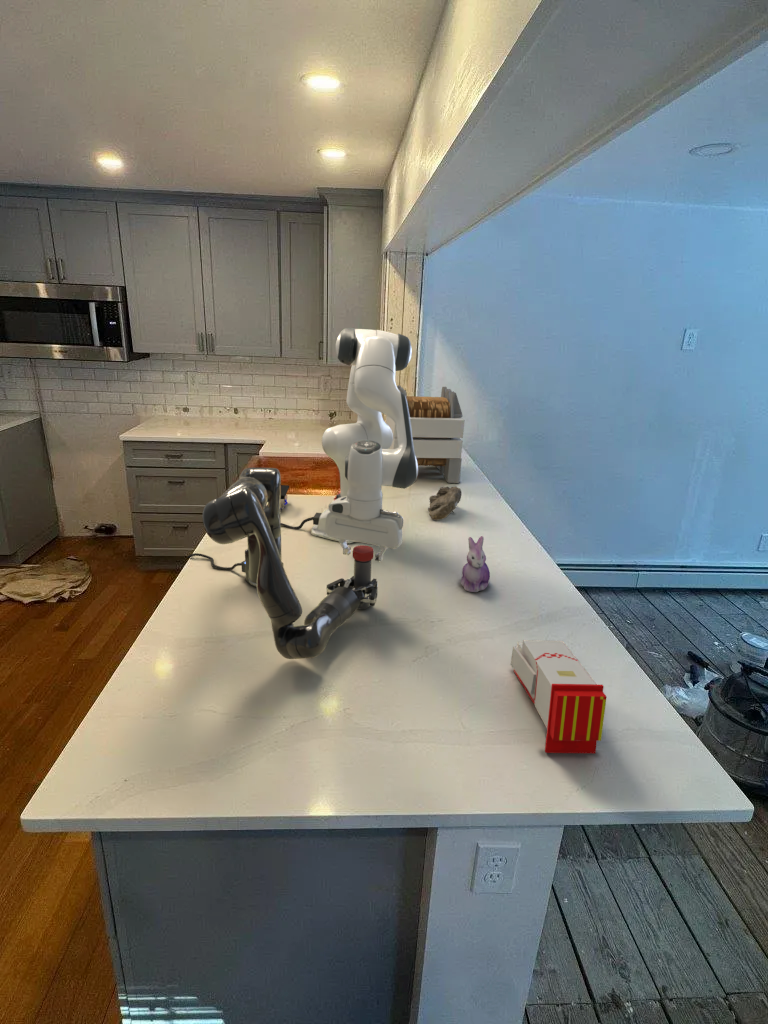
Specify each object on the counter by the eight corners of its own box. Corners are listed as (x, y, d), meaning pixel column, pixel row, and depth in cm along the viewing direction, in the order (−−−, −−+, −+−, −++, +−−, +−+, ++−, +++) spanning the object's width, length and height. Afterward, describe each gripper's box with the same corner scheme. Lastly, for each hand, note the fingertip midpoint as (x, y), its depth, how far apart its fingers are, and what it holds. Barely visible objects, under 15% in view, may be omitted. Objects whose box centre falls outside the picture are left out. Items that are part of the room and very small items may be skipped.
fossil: (424, 492, 232) (454, 472, 227) (437, 509, 235) (468, 490, 230) (422, 516, 212) (456, 495, 207) (437, 534, 215) (470, 514, 210)
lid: (348, 557, 146) (348, 549, 145) (362, 551, 150) (362, 543, 149) (363, 563, 143) (364, 555, 142) (377, 557, 147) (378, 549, 146)
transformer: (382, 463, 289) (386, 382, 275) (445, 464, 293) (451, 384, 279) (390, 482, 257) (394, 392, 243) (460, 483, 261) (468, 394, 247)
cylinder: (370, 601, 153) (372, 548, 148) (369, 609, 149) (371, 556, 144) (353, 600, 153) (354, 548, 148) (352, 609, 149) (354, 555, 144)
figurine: (471, 596, 158) (477, 546, 153) (451, 580, 166) (455, 533, 161) (498, 590, 162) (504, 541, 157) (477, 575, 171) (482, 529, 166)
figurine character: (285, 517, 214) (290, 500, 227) (284, 499, 210) (289, 483, 224) (267, 517, 213) (273, 500, 227) (266, 498, 210) (272, 482, 223)
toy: (559, 623, 127) (616, 692, 98) (553, 678, 130) (607, 761, 101) (505, 622, 127) (547, 691, 98) (501, 677, 130) (540, 760, 100)
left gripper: (363, 601, 133) (391, 572, 148) (310, 587, 138) (342, 561, 153) (362, 628, 135) (390, 598, 150) (310, 614, 140) (342, 586, 155)
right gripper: (407, 509, 141) (404, 560, 146) (333, 497, 148) (332, 545, 152) (399, 517, 135) (396, 569, 140) (322, 504, 142) (322, 554, 147)
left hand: (366, 579), depth 151 cm, fingers closed on cylinder, 4 cm apart
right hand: (362, 557), depth 146 cm, fingers open, 8 cm apart
